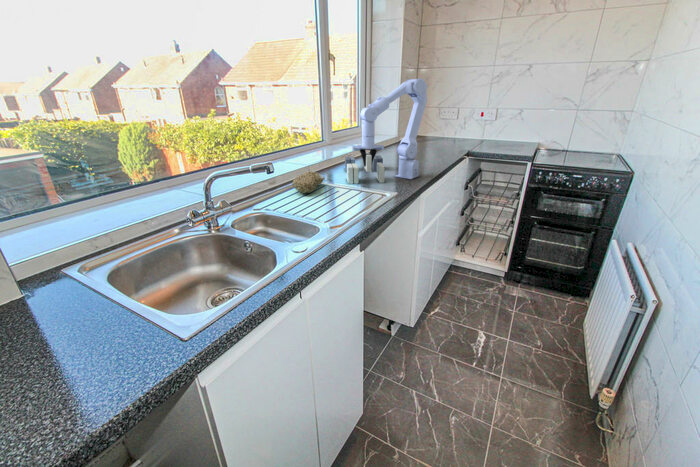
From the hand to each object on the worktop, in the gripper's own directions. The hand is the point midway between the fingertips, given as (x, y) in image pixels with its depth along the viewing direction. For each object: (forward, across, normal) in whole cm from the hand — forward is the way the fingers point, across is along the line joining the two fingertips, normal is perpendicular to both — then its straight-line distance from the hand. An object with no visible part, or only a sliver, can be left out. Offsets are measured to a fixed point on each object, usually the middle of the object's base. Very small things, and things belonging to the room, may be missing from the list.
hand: (367, 165), depth 154 cm
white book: (+2, 0, 0) cm, 2 cm away
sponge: (+7, +28, +12) cm, 31 cm away
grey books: (+7, -1, -23) cm, 24 cm away
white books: (+7, +1, 0) cm, 7 cm away
